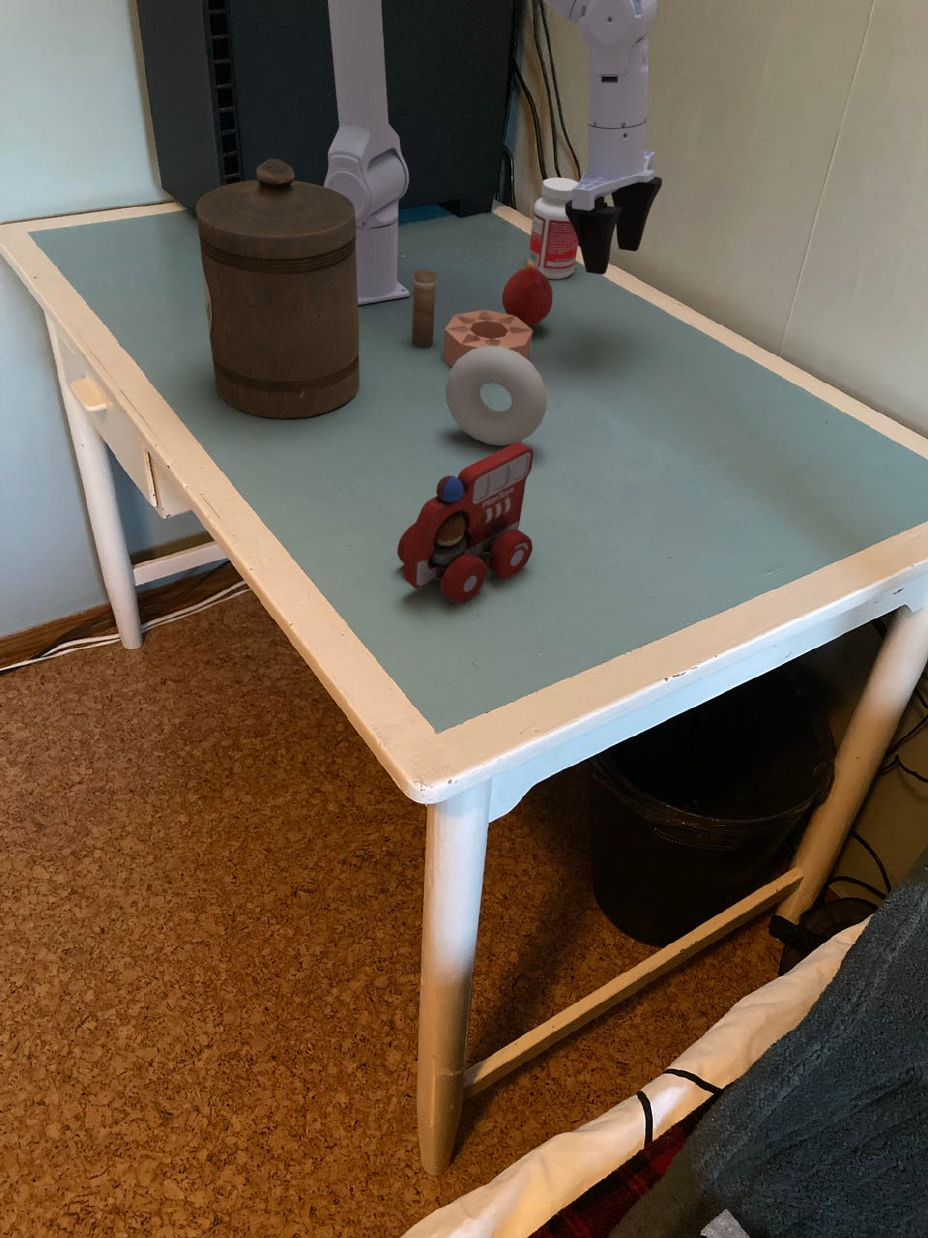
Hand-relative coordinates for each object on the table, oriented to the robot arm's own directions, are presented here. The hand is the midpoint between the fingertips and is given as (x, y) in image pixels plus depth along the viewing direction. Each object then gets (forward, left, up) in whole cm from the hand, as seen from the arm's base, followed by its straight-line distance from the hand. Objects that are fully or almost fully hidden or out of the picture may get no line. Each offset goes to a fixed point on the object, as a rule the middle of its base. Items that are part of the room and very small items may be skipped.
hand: (612, 260), depth 104 cm
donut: (+12, -21, -11) cm, 26 cm away
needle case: (-9, -18, -11) cm, 23 cm away
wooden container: (-6, -35, -11) cm, 37 cm away
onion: (-8, -5, -11) cm, 14 cm away
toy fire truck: (+28, -33, -11) cm, 44 cm away
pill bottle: (-21, +7, -11) cm, 25 cm away
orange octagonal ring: (-3, -13, -11) cm, 17 cm away
